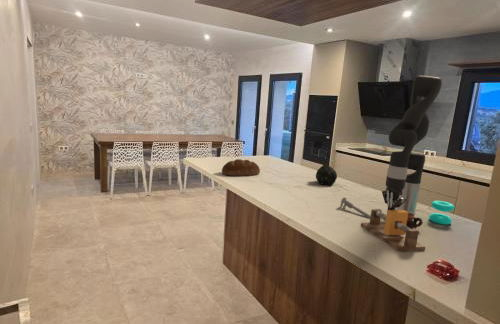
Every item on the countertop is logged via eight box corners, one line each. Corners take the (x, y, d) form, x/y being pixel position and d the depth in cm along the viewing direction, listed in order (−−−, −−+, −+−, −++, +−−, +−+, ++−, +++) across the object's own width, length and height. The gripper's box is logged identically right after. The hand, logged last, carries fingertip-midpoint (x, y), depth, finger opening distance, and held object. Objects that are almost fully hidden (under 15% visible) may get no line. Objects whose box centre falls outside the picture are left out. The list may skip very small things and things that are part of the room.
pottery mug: (392, 228, 148) (392, 211, 151) (397, 232, 155) (397, 216, 158) (421, 229, 141) (420, 211, 144) (425, 233, 148) (424, 216, 151)
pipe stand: (361, 225, 148) (363, 208, 146) (383, 224, 151) (385, 208, 149) (399, 251, 123) (402, 231, 122) (424, 250, 126) (428, 230, 125)
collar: (383, 232, 135) (387, 210, 133) (399, 231, 137) (403, 209, 135) (388, 235, 132) (392, 212, 130) (404, 234, 134) (408, 212, 132)
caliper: (340, 207, 174) (341, 196, 173) (341, 207, 174) (342, 196, 173) (372, 219, 158) (374, 208, 156) (373, 219, 158) (375, 207, 157)
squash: (338, 175, 230) (326, 158, 228) (342, 180, 215) (329, 163, 213) (322, 186, 233) (310, 170, 231) (325, 192, 218) (312, 175, 216)
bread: (218, 172, 236) (219, 157, 234) (254, 171, 248) (255, 157, 246) (225, 177, 222) (226, 161, 220) (263, 176, 234) (264, 161, 232)
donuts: (459, 207, 154) (437, 205, 155) (455, 226, 156) (433, 224, 157) (448, 201, 164) (428, 199, 165) (445, 219, 166) (425, 217, 167)
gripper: (415, 180, 128) (408, 220, 132) (393, 172, 141) (387, 209, 144) (399, 180, 127) (392, 221, 130) (379, 172, 139) (373, 210, 142)
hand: (390, 215), depth 137 cm, fingers closed
